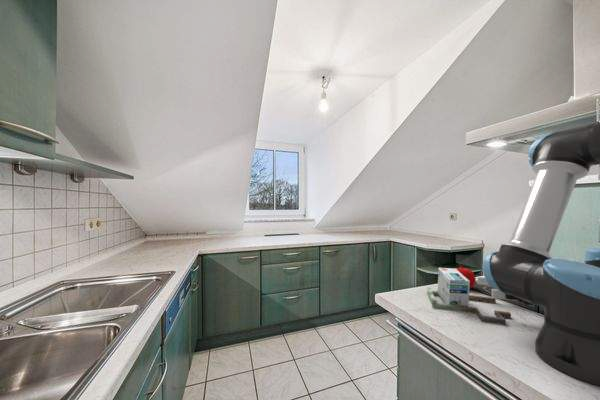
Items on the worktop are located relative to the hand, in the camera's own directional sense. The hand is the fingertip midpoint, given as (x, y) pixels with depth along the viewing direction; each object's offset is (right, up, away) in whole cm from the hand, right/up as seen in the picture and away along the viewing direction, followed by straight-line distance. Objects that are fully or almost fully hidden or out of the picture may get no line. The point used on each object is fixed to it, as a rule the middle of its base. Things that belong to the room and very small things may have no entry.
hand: (484, 286), depth 85 cm
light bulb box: (-9, -7, +4) cm, 12 cm away
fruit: (+6, -8, +19) cm, 22 cm away
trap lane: (-6, -8, +2) cm, 10 cm away
